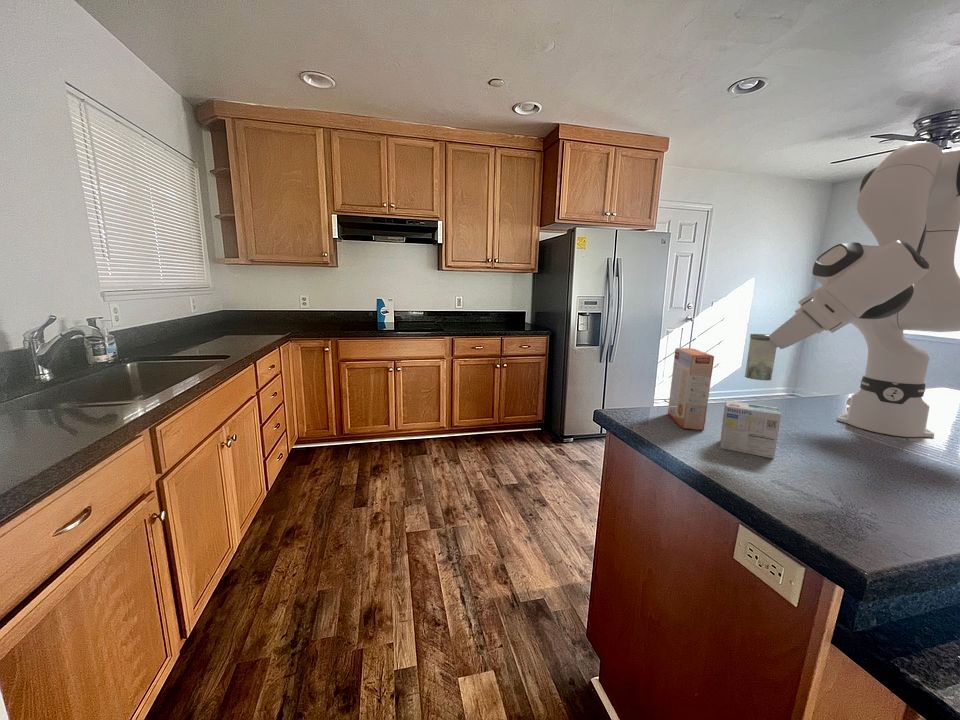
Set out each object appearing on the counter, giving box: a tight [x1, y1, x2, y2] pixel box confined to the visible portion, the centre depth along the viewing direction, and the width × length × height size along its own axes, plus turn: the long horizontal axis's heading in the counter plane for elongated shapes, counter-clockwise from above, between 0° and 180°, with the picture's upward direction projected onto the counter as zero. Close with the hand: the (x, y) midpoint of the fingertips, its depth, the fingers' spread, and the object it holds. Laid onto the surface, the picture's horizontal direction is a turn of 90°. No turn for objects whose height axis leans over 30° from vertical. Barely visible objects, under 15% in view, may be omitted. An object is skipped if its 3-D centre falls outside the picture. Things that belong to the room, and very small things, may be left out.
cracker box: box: [667, 347, 715, 431], centre depth 106 cm, size 14×6×21 cm, turn 168°
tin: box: [744, 333, 777, 381], centre depth 85 cm, size 5×5×10 cm
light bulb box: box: [719, 400, 782, 459], centre depth 88 cm, size 11×7×11 cm, turn 57°
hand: (758, 352), depth 85 cm, fingers closed on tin, 5 cm apart
